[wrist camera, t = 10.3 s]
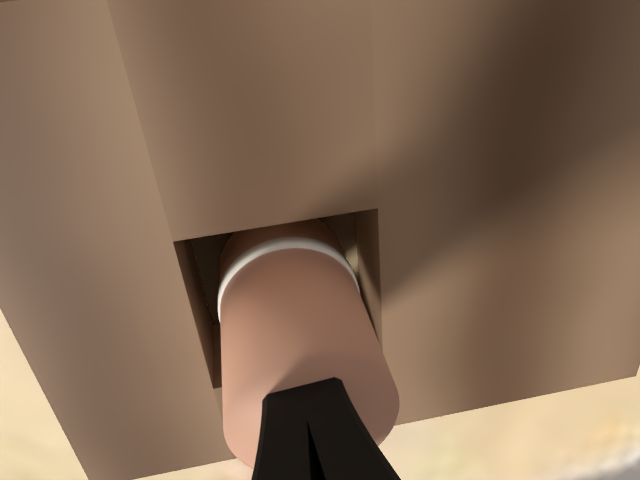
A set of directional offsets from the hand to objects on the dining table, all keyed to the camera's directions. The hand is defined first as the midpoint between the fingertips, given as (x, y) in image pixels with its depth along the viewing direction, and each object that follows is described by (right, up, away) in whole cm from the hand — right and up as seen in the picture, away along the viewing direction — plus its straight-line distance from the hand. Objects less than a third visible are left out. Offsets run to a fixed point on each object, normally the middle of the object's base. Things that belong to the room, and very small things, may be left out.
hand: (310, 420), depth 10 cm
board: (+1, +4, +5) cm, 6 cm away
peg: (-1, +3, +5) cm, 6 cm away
